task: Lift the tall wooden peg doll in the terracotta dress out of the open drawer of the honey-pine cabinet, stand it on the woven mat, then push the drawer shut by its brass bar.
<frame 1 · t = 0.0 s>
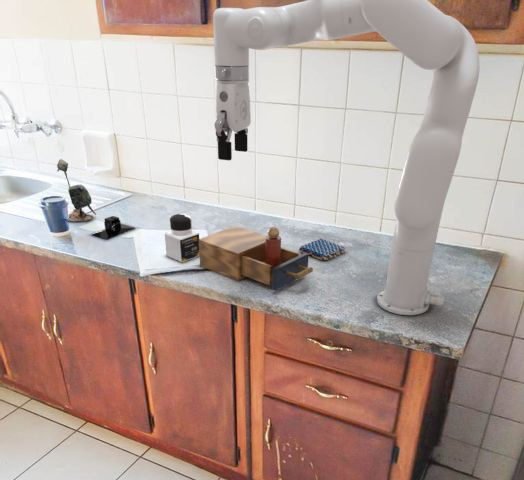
hand: (233, 155, 123), 31 cm above the worktop, tool pointing down, fingers open, 9 cm apart
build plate: (113, 232, 166), on the worktop
drawer: (278, 267, 136), point 4 cm above the worktop, slide at 11.0 cm, touching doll
woven mat: (321, 253, 154), on the worktop
cabinet: (237, 265, 146), on the worktop
medicine bottle: (183, 256, 151), on the worktop
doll: (272, 271, 138), point 2 cm above the worktop, touching drawer
bird figurine: (81, 219, 176), on the worktop
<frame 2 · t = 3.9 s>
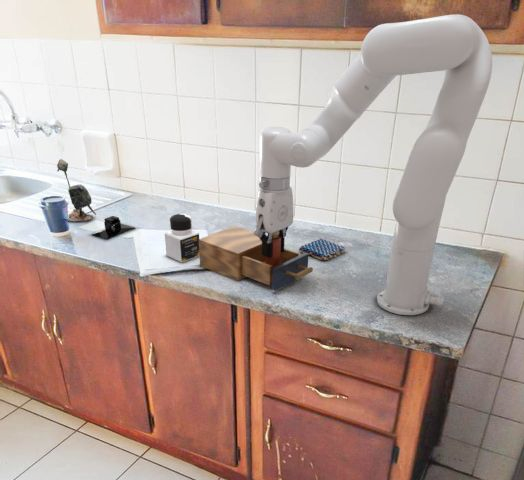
hand: (272, 252, 135), 7 cm above the worktop, tool pointing down, fingers closed on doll, 4 cm apart
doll: (272, 271, 138), point 2 cm above the worktop, touching drawer, gripper
everything else where it was.
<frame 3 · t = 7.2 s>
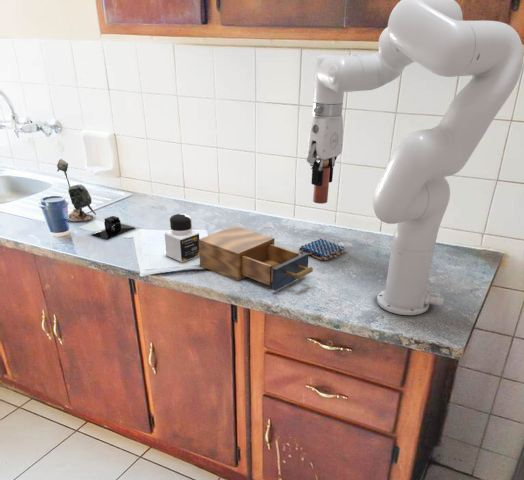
hand: (321, 182, 141), 21 cm above the worktop, tool pointing down, fingers closed on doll, 4 cm apart
drawer: (278, 267, 136), point 4 cm above the worktop, slide at 11.0 cm
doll: (320, 201, 144), point 16 cm above the worktop, touching gripper
everything else where it was.
when the fingers open (7 cm above the worktop, at t = 10.8 s): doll stays where it is, resting on woven mat.
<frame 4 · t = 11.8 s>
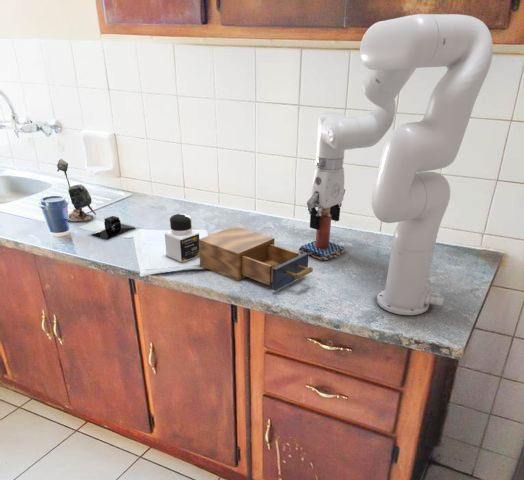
hand: (324, 224, 149), 9 cm above the worktop, tool pointing down, fingers open, 9 cm apart
woven mat: (321, 253, 154), on the worktop, touching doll
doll: (322, 246, 153), point 2 cm above the worktop, touching woven mat
everything else where it was.
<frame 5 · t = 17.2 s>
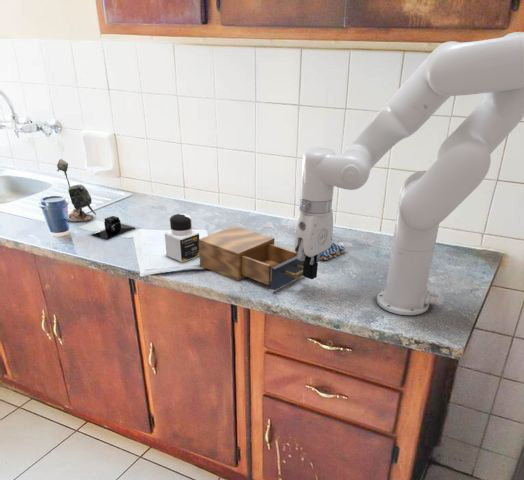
hand: (309, 276, 130), 4 cm above the worktop, tool pointing down, fingers closed
drawer: (277, 266, 136), point 4 cm above the worktop, slide at 10.7 cm, touching gripper
everything else where it was.
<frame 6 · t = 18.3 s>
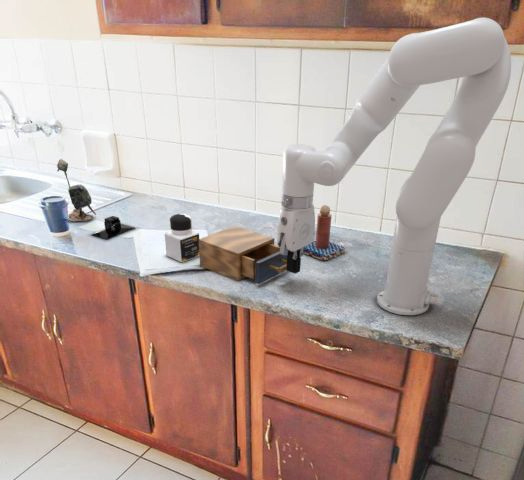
hand: (293, 271, 133), 4 cm above the worktop, tool pointing down, fingers closed
drawer: (262, 261, 139), point 4 cm above the worktop, slide at 5.4 cm, touching gripper
everything else where it was.
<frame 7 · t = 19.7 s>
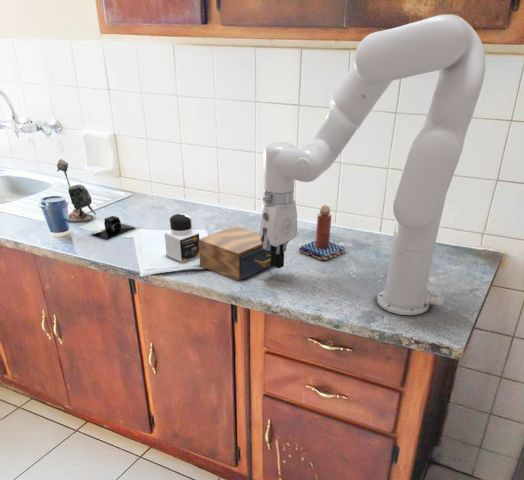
hand: (277, 266, 136), 4 cm above the worktop, tool pointing down, fingers closed
drawer: (247, 255, 142), point 4 cm above the worktop, slide at 0.0 cm, touching cabinet, gripper
everything else where it was.
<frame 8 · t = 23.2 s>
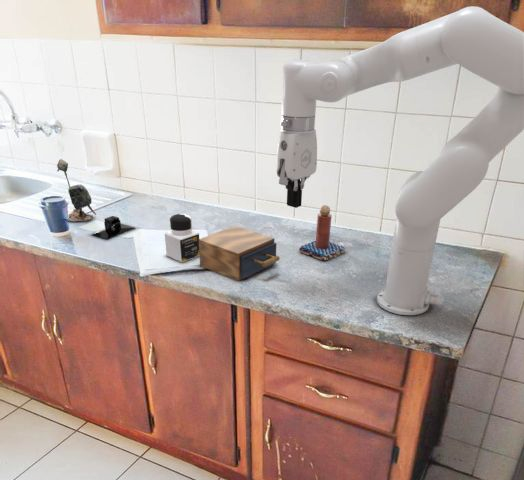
hand: (293, 205, 124), 21 cm above the worktop, tool pointing down, fingers closed
drawer: (247, 255, 142), point 4 cm above the worktop, slide at 0.0 cm
everything else where it was.
at the end: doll inside the target area on the woven mat (0.2 cm from its centre), point 2.2 cm above the woven mat's base; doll tilted 0°; drawer slide at 0.0 cm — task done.
